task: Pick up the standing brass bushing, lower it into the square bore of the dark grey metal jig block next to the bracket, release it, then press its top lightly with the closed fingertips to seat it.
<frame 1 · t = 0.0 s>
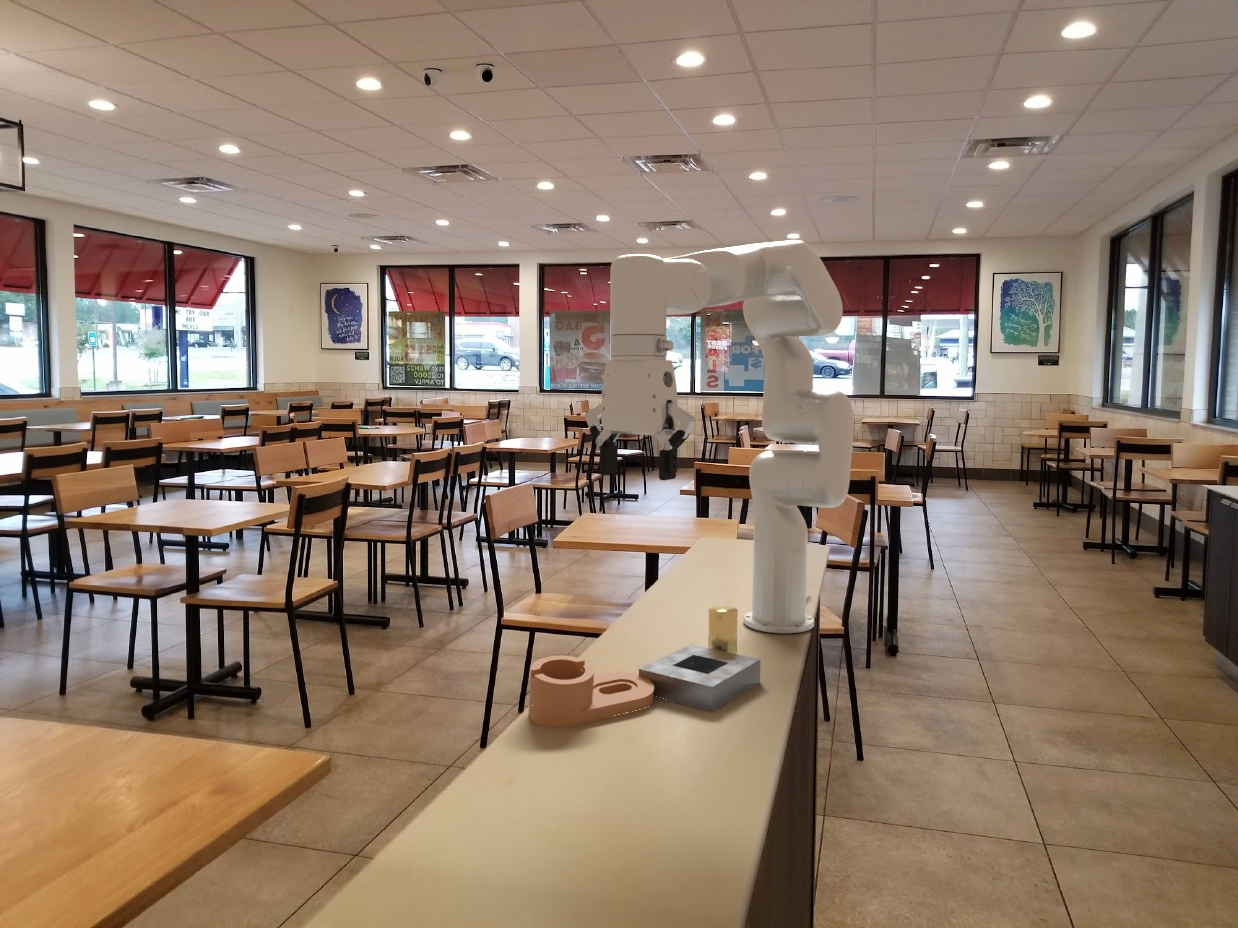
hand: (637, 476, 119), 31 cm above the counter, tool pointing down, fingers open, 9 cm apart
bushing: (722, 666, 135), on the counter
bracket: (591, 711, 119), on the counter, touching jig
jig: (700, 687, 126), on the counter
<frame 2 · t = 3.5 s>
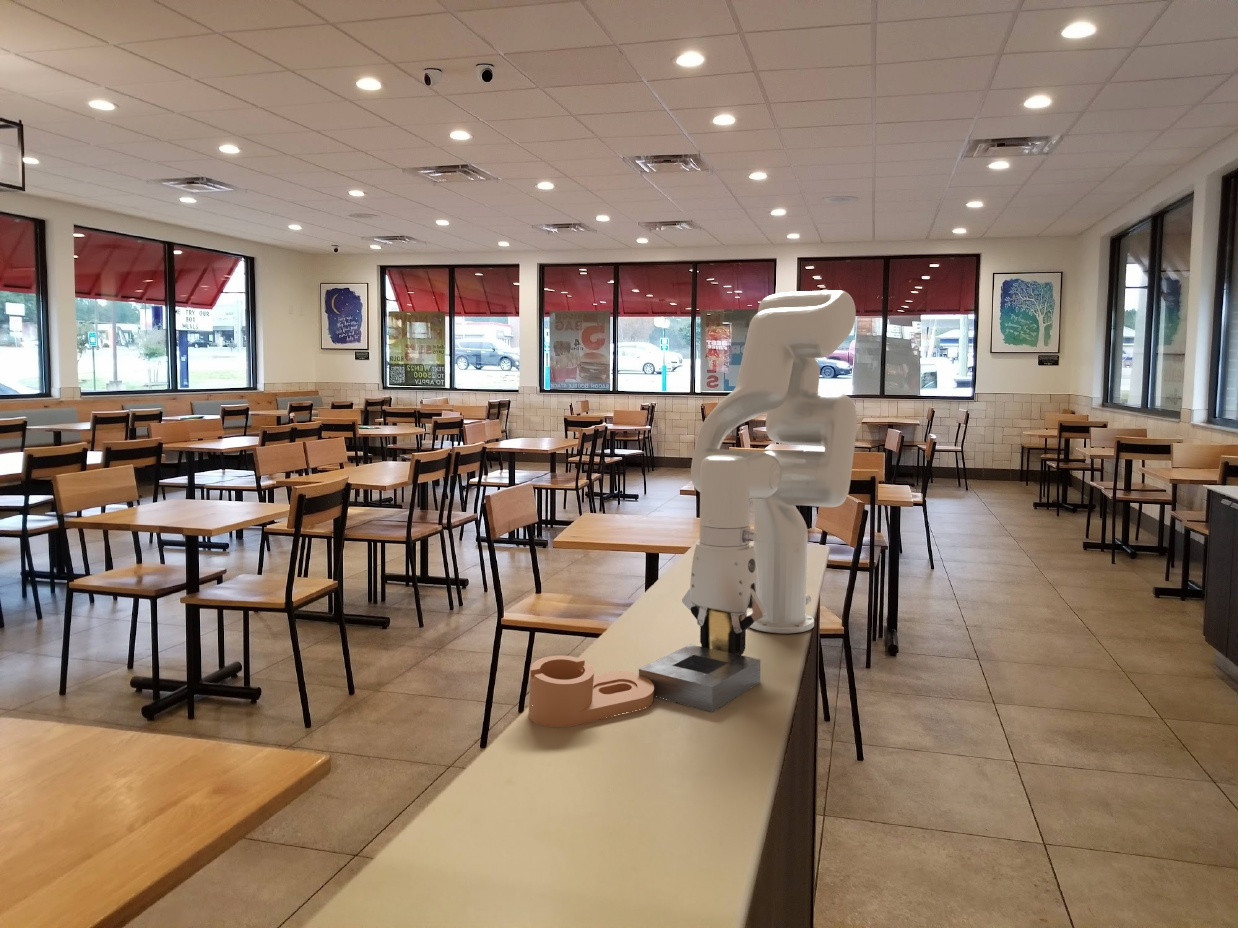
hand: (722, 651, 135), 2 cm above the counter, tool pointing down, fingers closed on bushing, 4 cm apart
bushing: (722, 666, 135), on the counter, touching gripper
everything else where it was.
when the fingers open (4 cm above the counter, at t = 7.4 s): bushing drops 1 cm, resting in jig.
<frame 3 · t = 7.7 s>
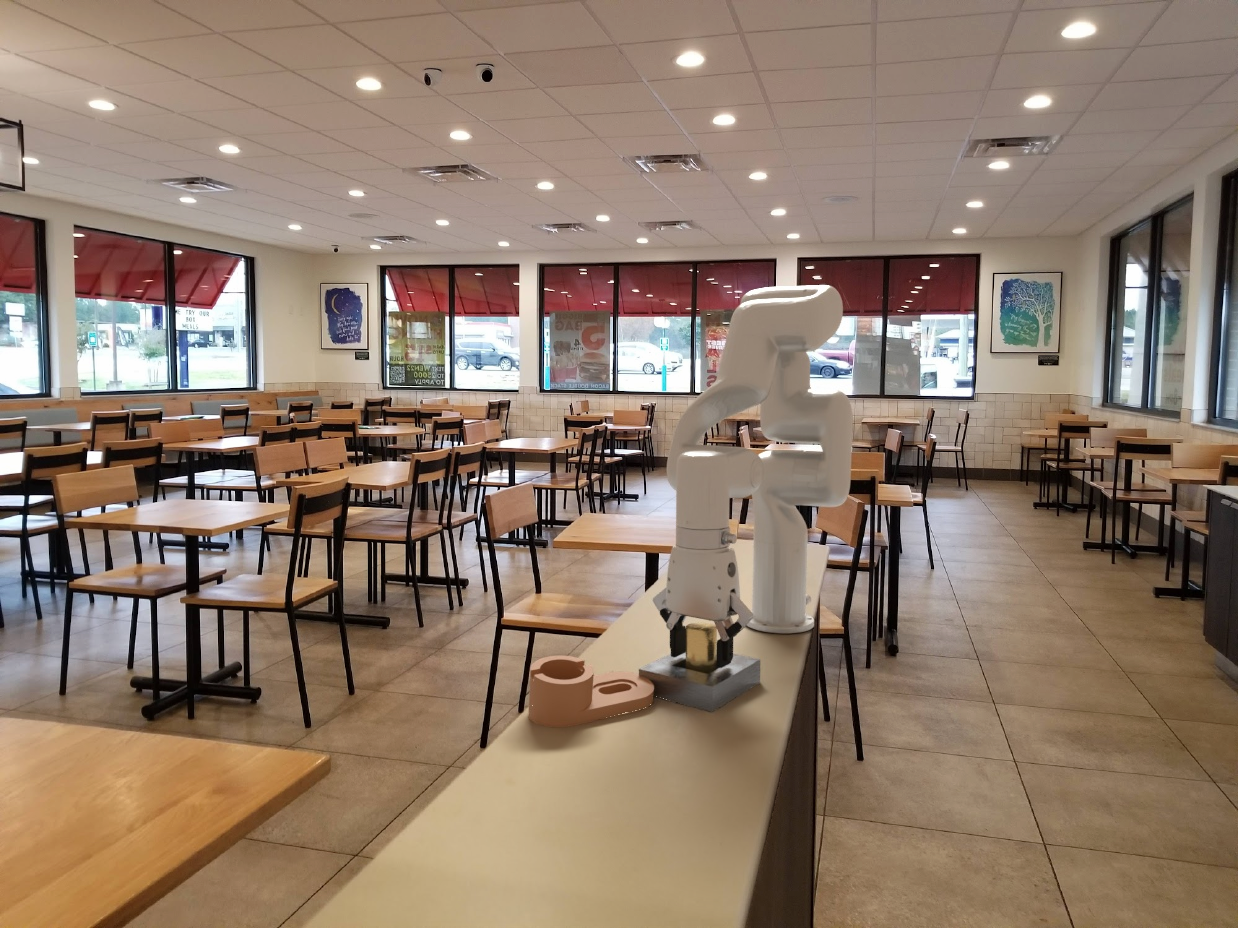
hand: (700, 658, 126), 4 cm above the counter, tool pointing down, fingers open, 7 cm apart
bushing: (700, 687, 126), resting in jig
everything else where it was.
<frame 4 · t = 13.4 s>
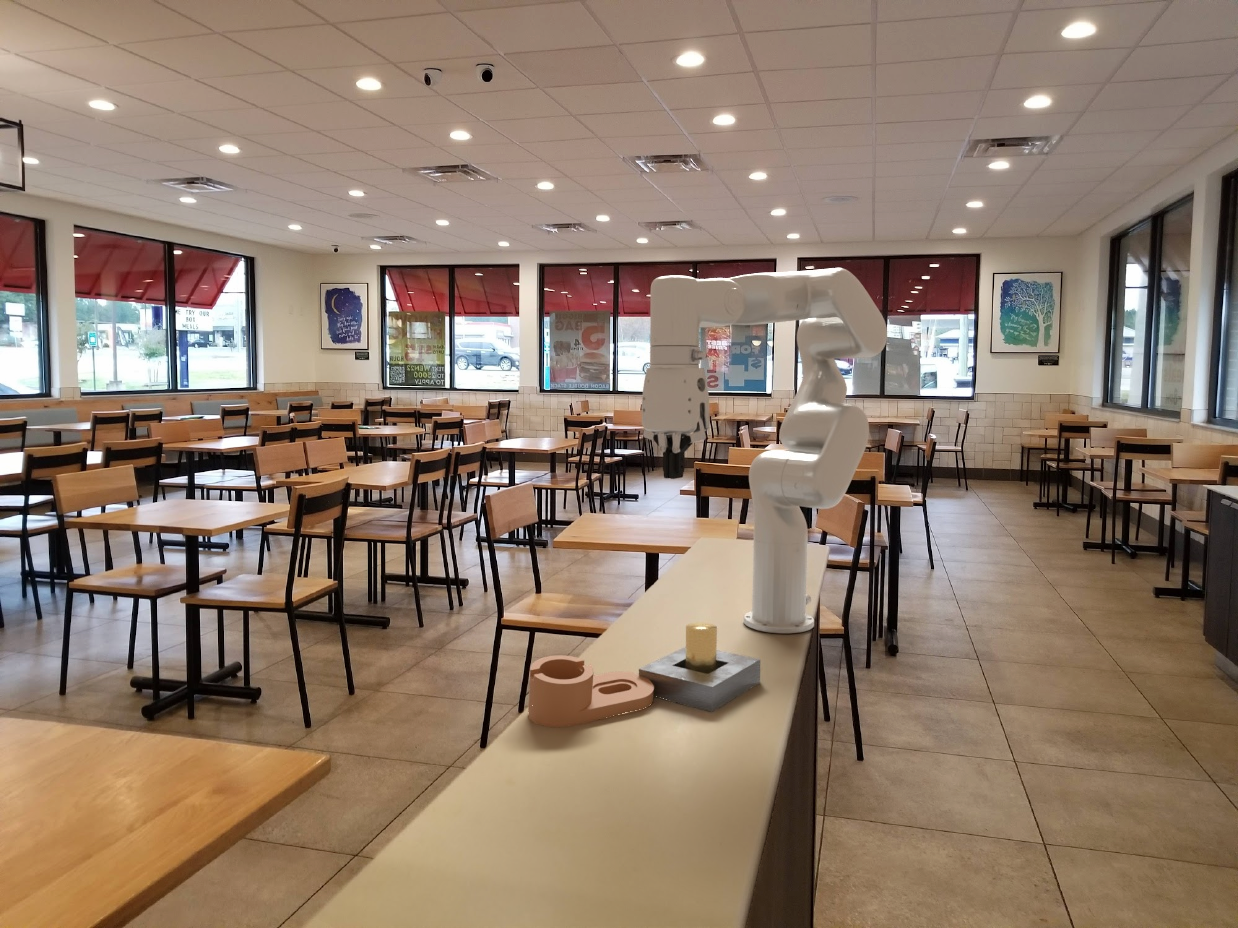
hand: (673, 477, 136), 29 cm above the counter, tool pointing down, fingers closed
nothing on the counter moved.
at the end: bushing 0.0 cm off-centre on the jig, point 0.0 cm above the jig's base; bushing tilted 0°; the gripper is holding nothing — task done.
